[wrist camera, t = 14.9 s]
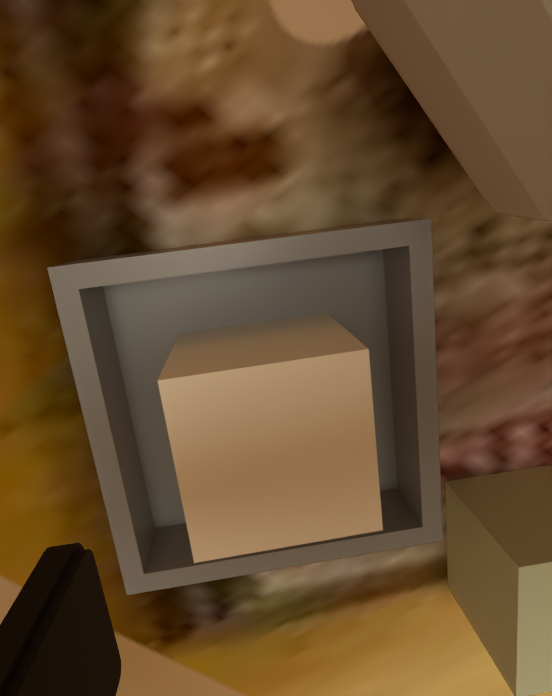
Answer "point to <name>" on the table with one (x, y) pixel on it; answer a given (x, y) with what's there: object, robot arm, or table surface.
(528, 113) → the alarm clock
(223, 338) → the cream block
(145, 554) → the grey tray
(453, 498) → the sage block
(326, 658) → the table surface
